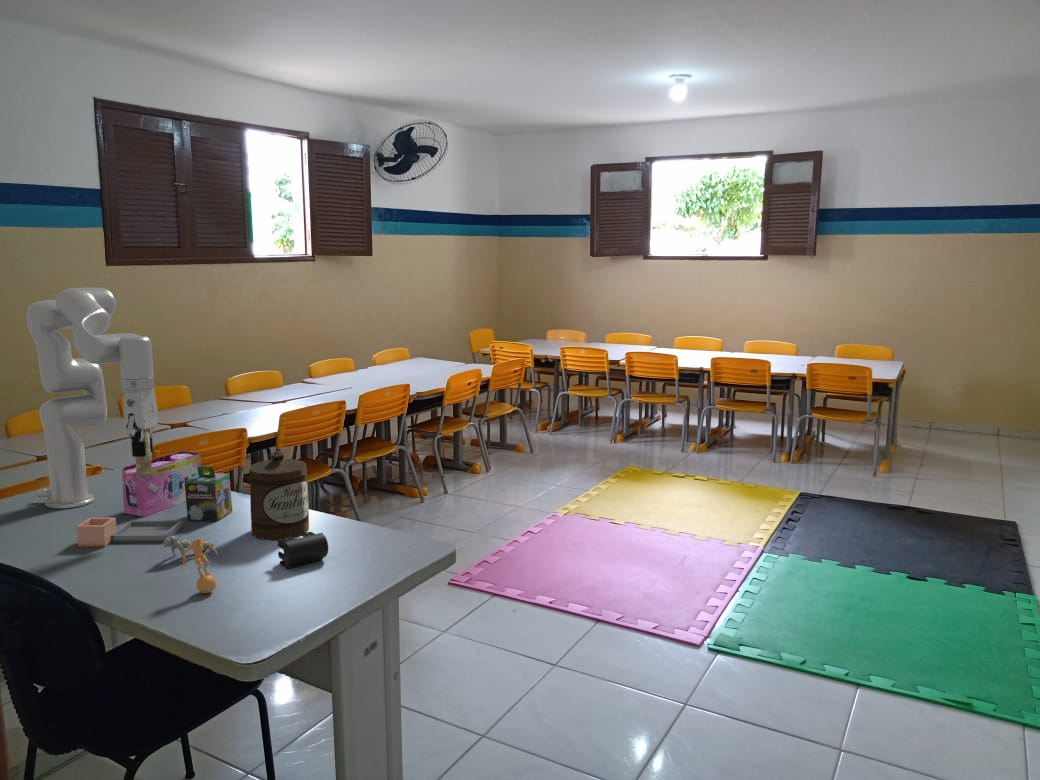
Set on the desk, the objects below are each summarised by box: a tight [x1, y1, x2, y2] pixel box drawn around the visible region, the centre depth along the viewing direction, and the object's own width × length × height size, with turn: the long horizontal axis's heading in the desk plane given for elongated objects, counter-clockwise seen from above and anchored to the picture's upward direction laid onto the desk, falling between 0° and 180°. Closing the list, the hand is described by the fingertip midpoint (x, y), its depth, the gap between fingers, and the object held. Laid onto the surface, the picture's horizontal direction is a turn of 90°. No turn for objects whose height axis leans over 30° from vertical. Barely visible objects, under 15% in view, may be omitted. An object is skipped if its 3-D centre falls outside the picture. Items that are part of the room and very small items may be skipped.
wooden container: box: [249, 450, 310, 541], centre depth 207 cm, size 15×15×22 cm
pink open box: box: [76, 517, 118, 548], centre depth 198 cm, size 7×7×6 cm
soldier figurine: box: [163, 535, 215, 563], centre depth 189 cm, size 6×5×12 cm
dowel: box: [135, 427, 152, 478], centre depth 201 cm, size 4×4×15 cm
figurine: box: [182, 538, 219, 594], centre depth 169 cm, size 8×6×12 cm
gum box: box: [121, 450, 202, 518], centre depth 229 cm, size 24×8×14 cm, turn 158°
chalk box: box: [185, 465, 233, 522], centre depth 219 cm, size 9×9×15 cm
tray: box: [110, 519, 185, 544], centre depth 205 cm, size 14×12×2 cm
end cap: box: [277, 531, 329, 569], centre depth 186 cm, size 10×7×7 cm
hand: (142, 453), depth 202 cm, fingers closed on dowel, 3 cm apart
